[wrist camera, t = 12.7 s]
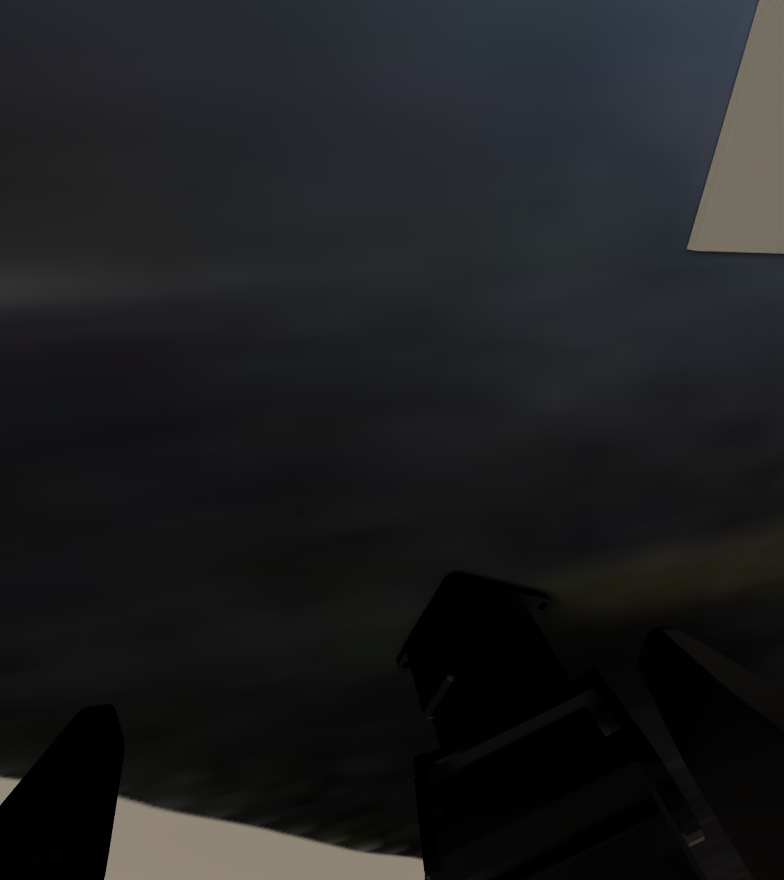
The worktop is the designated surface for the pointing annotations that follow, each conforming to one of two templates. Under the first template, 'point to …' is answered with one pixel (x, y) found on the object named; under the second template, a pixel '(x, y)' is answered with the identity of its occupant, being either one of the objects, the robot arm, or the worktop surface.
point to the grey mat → (749, 151)
